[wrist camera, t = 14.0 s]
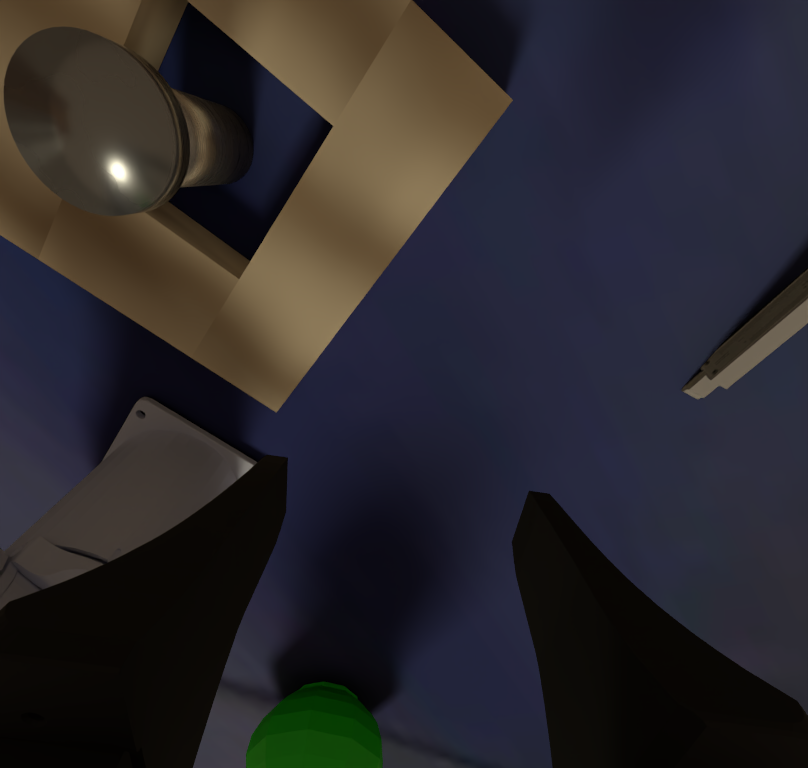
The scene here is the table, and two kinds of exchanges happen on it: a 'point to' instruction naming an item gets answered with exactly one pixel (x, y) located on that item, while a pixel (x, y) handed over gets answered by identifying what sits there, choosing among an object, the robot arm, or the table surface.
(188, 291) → the square wooden frame
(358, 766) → the plastic bottle
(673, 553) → the table surface
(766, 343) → the caliper
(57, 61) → the steel pin
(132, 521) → the robot arm
